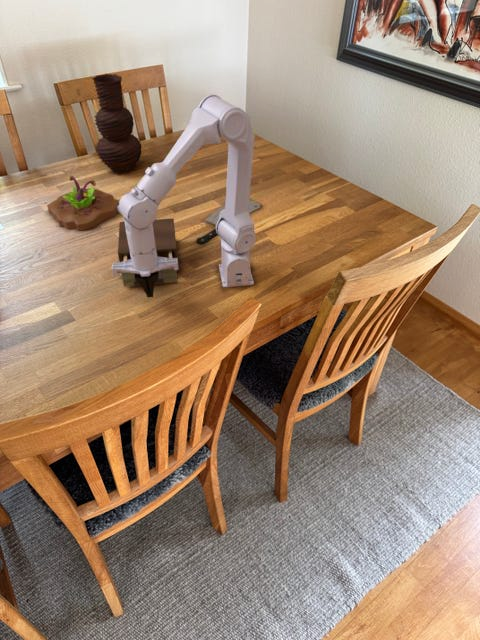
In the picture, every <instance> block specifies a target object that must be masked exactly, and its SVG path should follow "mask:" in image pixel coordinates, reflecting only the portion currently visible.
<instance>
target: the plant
mask: <svg viewBox="0 0 480 640" xmlns="http://www.w3.org/2000/svg"><path fill="white" fill-rule="evenodd" d="M68 180H69V182H73V181H74V184H75V186H74V187H72V191H68V192H67V193H65V194H62V195H60V196H58V197H57V198H56V199H55V200H53V201H51V202H49V204H47V205H46V207H47V210H48V213H49V215H50V216H52V217H53V219H54V220H55V221H56V222H58V225H59V226H60V227H64V228H65V229H67V230H70V229H77V230H78V231H85V230H86V231H87V230H90V229H93V228H94V227H96V226H98V225H99V224H100V223H102V222H104V221H106V220H108V219H110V218H114V217H115V216H116V215H117V213H119V211H118V209H117V206H119V201H120V200H118V199H115V198H114V195H113V194H111V193H107V192H105V191H103V190H100V189H97V188H94V187H95V186H97V182H96V181H95V180H88V181H86V183H84V185H83V187H80V183H79V182H78V181H77V180H76V178H75V177H74V175H69V176H68ZM89 184H90V185H91V186H93V187H90V188H87V187H88V186H89Z"/></svg>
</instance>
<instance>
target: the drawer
mask: <svg viewBox="0 0 480 640" xmlns="http://www.w3.org/2000/svg"><path fill="white" fill-rule="evenodd" d="M157 257H165V258H173V256H172V251H170V252H157ZM130 259H131V256H130V255H124V261H126V260H130ZM177 273H178V272H177V271H176V270H174V269H163V270H159V271H158V275H159V276H158V280H157V282H156V284H155V285H160V284H168V283H169V284H170V283H178V282H179V281H178V274H177ZM120 274H121V279H122V284H123V287H124V288H125V287H137V286H140V284H139V283H137V282H136V280H135V275H134V273H129V272H128V273H120ZM147 280H148V279H147ZM148 284H149V283H148Z"/></svg>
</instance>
